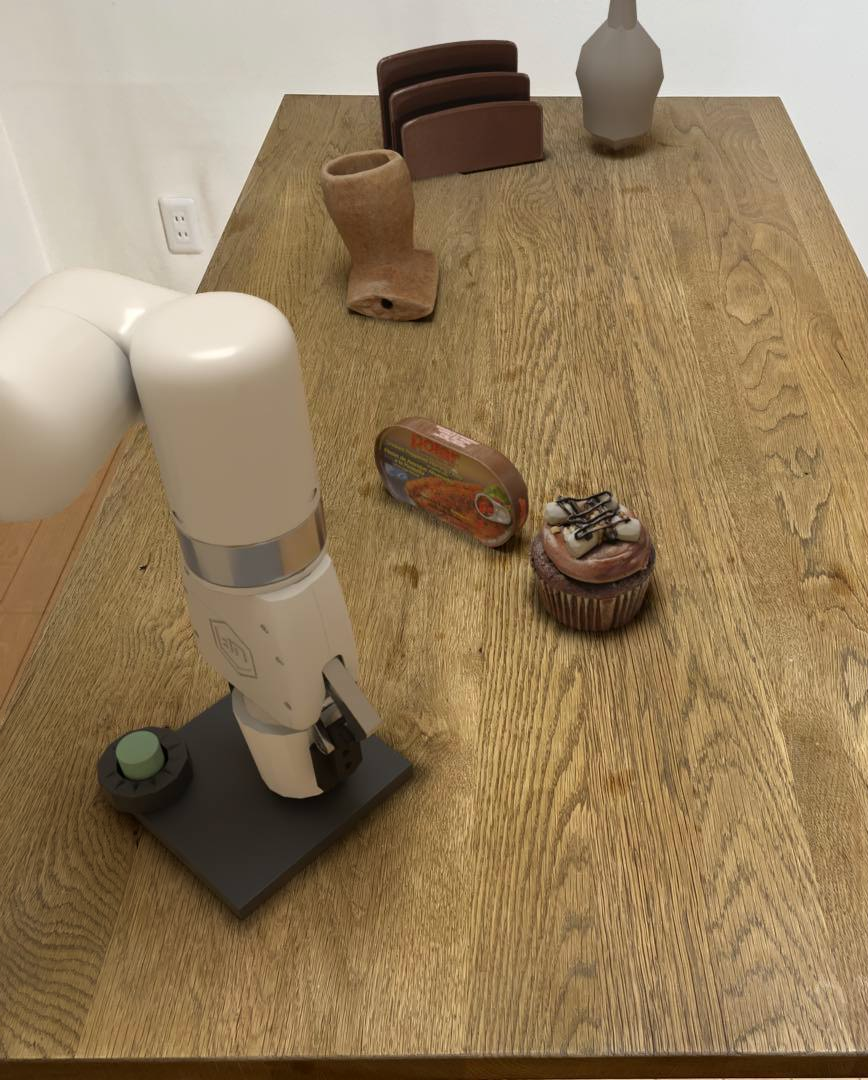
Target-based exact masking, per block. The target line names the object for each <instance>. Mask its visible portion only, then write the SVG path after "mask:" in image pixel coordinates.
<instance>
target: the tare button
mask: <svg viewBox="0 0 868 1080" xmlns="http://www.w3.org/2000/svg"><path fill="white" fill-rule="evenodd" d="M116 756H117V758H118V761H119V763H120V766H121V768H122V771H123V773H124V775H125V776H126V777H127V778H129V779H131V780H136V781H141V780H146V779H149V778H151V777H153V776H155V775H156V774H157V773H158V772H159V771H160V770H161V769H162V767H163V765H164V761H165V758H164V755H163V752H162V749H161V746H160V743H159V740H158V738H157V737H156V736H155V735H154V734H153V733H151V732H147V731H138V732H134V733H131V734H129V735H127V736H126V737H124V738H123V739H122V740H121V741H120V742H119V744H118V746H117V748H116Z"/></svg>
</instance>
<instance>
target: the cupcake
mask: <svg viewBox="0 0 868 1080" xmlns="http://www.w3.org/2000/svg"><path fill="white" fill-rule="evenodd" d="M555 499H556V500H555V501H550V502H547V503H546V504H545V506H544V520H543V522H542V524H541V526H540V530H539V531H538V533H537V535H535V536H533V539H534V540H533V541H532V542H530V547H529V548H528V549H529V553H530V554H529V555H528V560H529V561H528V562H529V565H530V567H531V569H532V573H533V576H534V579H535V581H536V583H537V584H536V585H537V588H538V592H539V598H540V602H541V603H540V604H541V605H542V606H543V607H544V609H545V611H546V612H547V613H548V614H549V615H551V616H553V619H555V620H558V622H559V623H561V624H563V626H565V627H570V628H571V629H576V630H578V631H582V630H584V631H585V632H589V631H591V632H594V633H595V632H608V631H610V629H617V628H619V627H623V626H625V624H628V623H629V622H630V621H631V620H633V618H634V617H635V616H636V615H638V613H639V610H640V609H641V607H642V604H643V601H644V598H645V594H646V592H647V590H648V588H649V585H650V582H651V580H652V577H653V574H654V571H655V568H656V562H657V558H658V557H657V556H658V553H657V551H656V548H655V545H654V543H653V542H652V539H651V534H650V532H649V529H648V528H647V527H646V525H645V524H644V523H643V521H641V520H640V518H639V517H638V516H636V515H635V513H634V512H632V511H631V510H630V509H629V508H627V506H625V505H623V504H621V503H619V502H618V501H617V500H616V498H615V497H614V496H613V494H612V493H611V492H610V491H607V490H604V491H601V492H597V493H591V495H589V496H587V497H586V496H585V497H582V498H575V497H574V498H573V497H570V496H565V497H564V496H562V495H560V494H558V495H557V496H556V498H555Z"/></svg>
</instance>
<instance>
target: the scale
mask: <svg viewBox="0 0 868 1080" xmlns="http://www.w3.org/2000/svg"><path fill="white" fill-rule="evenodd" d="M138 731H147V732H151V733H153V734H154V735H155V736H156V737H157V738H158V740H159V743H160V746H161V749H162V752H163V755H164V758H165V761H164V765H163V767H162V769H161V770H160V771H159V772H158V773H157V774H156V775H155V776H153V777H151V778H149V779H146V780H141V781H136V780H131V779H129V778H127V777H126V776H125V775H124V773H123V771H122V768H121V766H120V763H119V761H118V758H117V756H116V748H117V746H118V744H119V742H120V741H121V740H122V739H123V738H124V737H126V736H127V735H129V734H131V733H134V732H138ZM360 745H361V751H362V758H363V759H362V762H361V764H360V765H359V766H358V767H357V769H356V770H355V772H354V773H353V774H352V775H350V776H349V777H348V778H346V779H345V780H340V781H339V782H338V783H337V784H335V785H334V786H333V787H332V788H330V789H329V790H328V791H326V792H322V793H321V794H319V795H315V796H310V797H305V798H292V797H284V796H282V795H280V794H278V793H276V792H274V791H272V790H271V789H269V787H268V786H267V784H266V783H265V781H264V780H263V779H262V777H261V774H260V772H259V770H258V767H257V765H256V763H255V760H254V758H253V756H252V753H251V751H250V749H249V746H248V744H247V742H246V740H245V737H244V735H243V733H242V730H241V728H240V726H239V723H238V721H237V719H236V716H235V714H234V712H233V705H232V696H231V692H229V693H228V694H226V695H225V696H223V697H222V698H220V699H219V700H218V701H216V702H215V703H214V704H211V706H209V707H207V708H206V709H205V710H203V711H202V712H201V713H199V714H197V716H195V717H194V718H192V719H191V720H189V721H187V722H186V723H184V725H182V726H180V727H179V728H178V729H176V730H174V729H171V728H166V727H160V726H153V725H149V726H146V727H145V726H144V727H141V728H137V729H133V730H128V731H126V732H125V733H123V734H122V735H120V736H119V737H118V738H116V739H115V740H114V741H112V742H110V743H109V744H108V745H107V746H106V748H105V749H104V751H103V753H102V754H101V756H100V757H99V759H98V761H97V763H96V771H97V783H98V785H99V787H100V789H101V792H102V795H103V796H104V799H105V800H106V801H107V802H108V803H109V804H110V805H112V807H113V808H115V809H116V811H118V812H121V813H127V814H132V816H134V818H136V820H138V821H139V822H140V823H141V824H142V825H143V826H144V827H145V828H146V829H147V830H148V831H149V832H150V833H151V834H152V835H153V836H154V837H155V838H156V839H157V840H158V841H159V842H160V843H161V844H162V845H163V846H164V847H166V848H167V849H168V851H170V852H171V853H172V855H174V857H175V858H177V859H178V860H179V861H180V862H181V863H182V864H183V865H184V866H185V867H186V868H187V869H188V870H189V871H190V872H191V873H192V874H193V875H194V876H195V877H196V878H197V879H198V880H199V881H201V883H203V885H205V887H207V888H208V889H209V891H211V892H212V893H213V894H214V895H215V896H216V897H217V898H218V899H219V900H220V901H221V902H222V903H223V904H224V906H226V907H227V908H228V909H229V910H230V911H231V912H232V913H233V914H234V915H236V917H238V918H239V919H240V921H245V919H247V918H248V917H249V916H250V915H251V914H252V913H254V912H255V911H256V910H257V909H258V908H259V907H261V906H262V905H263V904H264V903H265V902H266V901H268V900H269V899H270V898H271V897H272V896H273V895H275V894H276V893H277V892H278V891H280V889H282V888H283V887H284V886H286V884H288V883H289V882H290V881H291V880H292V879H293V878H295V877H296V876H297V875H298V874H300V873H301V872H302V871H303V870H304V869H305V868H306V867H307V866H309V865H310V864H311V863H313V861H315V860H316V859H317V858H318V857H320V856H321V855H322V854H323V853H324V852H325V851H326V850H328V849H329V848H331V846H332V845H334V844H335V843H336V842H337V841H338V840H340V839H341V838H342V837H343V836H344V835H346V833H348V832H349V831H350V830H351V829H352V828H354V827H355V826H356V825H357V824H358V823H359V822H360V821H361V820H363V819H364V818H365V817H367V816H368V815H369V814H370V813H371V812H372V811H374V810H375V809H376V808H377V807H379V805H381V804H382V803H383V802H384V801H385V800H387V799H388V798H389V797H390V796H391V795H392V794H393V793H395V792H396V791H397V790H398V789H399V788H400V787H402V786H403V785H404V784H405V783H406V782H407V781H409V780H410V779H411V778H413V776H414V766H413V763H412V762H411V761H409V760H408V759H407V758H405V757H404V756H403V755H401V754H400V753H399V752H398V751H396V750H395V749H394V748H392V747H391V746H390V745H388V744H387V743H386V742H385V741H384V740H382V739H380V738H379V737H378V736H377V735H375V734H374V733H373V734H372V735H370V736H369V737H368V738H367V739H365V740H362V741H360Z"/></svg>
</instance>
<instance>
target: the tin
mask: <svg viewBox="0 0 868 1080" xmlns="http://www.w3.org/2000/svg"><path fill="white" fill-rule="evenodd" d="M373 453H374V454H373V457H374V461H375V462H374V463H375V466H376V469H377V472H378V474H379V477H380V479H381V481H382V483H383V485H384V486H385V488H386V490H387V491H388V492H389V494H390V495H391V496H392V497H393V499H394V500H396V501H399V502H404V503H407V504H410V505H412V506H415V507H416V508H417V509H420V510H422V511H424V512H425V513H427V514H429V515H431V516H433V517H435V518H436V519H438V520H441V521H442V522H444V523H447V524H448V525H449V526H452V527H454V528H456V529H458V530H459V531H461V532H463V533H465V534H467V535H468V536H470V537H472V538H475V539H477V540H478V541H480V542H481V543H483V544H484V545H485V546H486V547H488V548H497V547H500V546H502V545H504V544H505V543H507V542H508V541H509V539H510V538H511V537H513V536H514V535H515V534H517V533H518V532H519V531H520V530H521V529H522V528H524V526H525V525H526V522H527V520H528V517H529V510H530V500H529V492H528V488H527V484H526V482H525V480H524V478H523V476H522V474H521V472H520V470H518V468H517V467H516V466H515V465H514V463H513V462H512V461H511V460H510V458H508V457H507V456H506V455H504V454H503V453H502V452H501V451H499V450H497V449H495V448H494V447H492V446H489V445H487V444H485V443H483V442H481V441H479V440H475V439H473V438H471V437H469V436H467V435H464V434H462V433H460V432H458V431H456V430H453V429H451V428H449V427H447V426H444V425H442V424H440V423H437V422H435V421H433V420H431V419H429V418H426V417H424V416H423V417H422V416H417V415H415V416H413V415H412V416H408V417H405V418H402V419H401V420H399V421H397V422H396V423H393V424H392V425H388V426H386V427H384V428H383V429H381V430H380V432H379V433H378V435H377V436H376V438H375V441H374V447H373Z"/></svg>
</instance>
